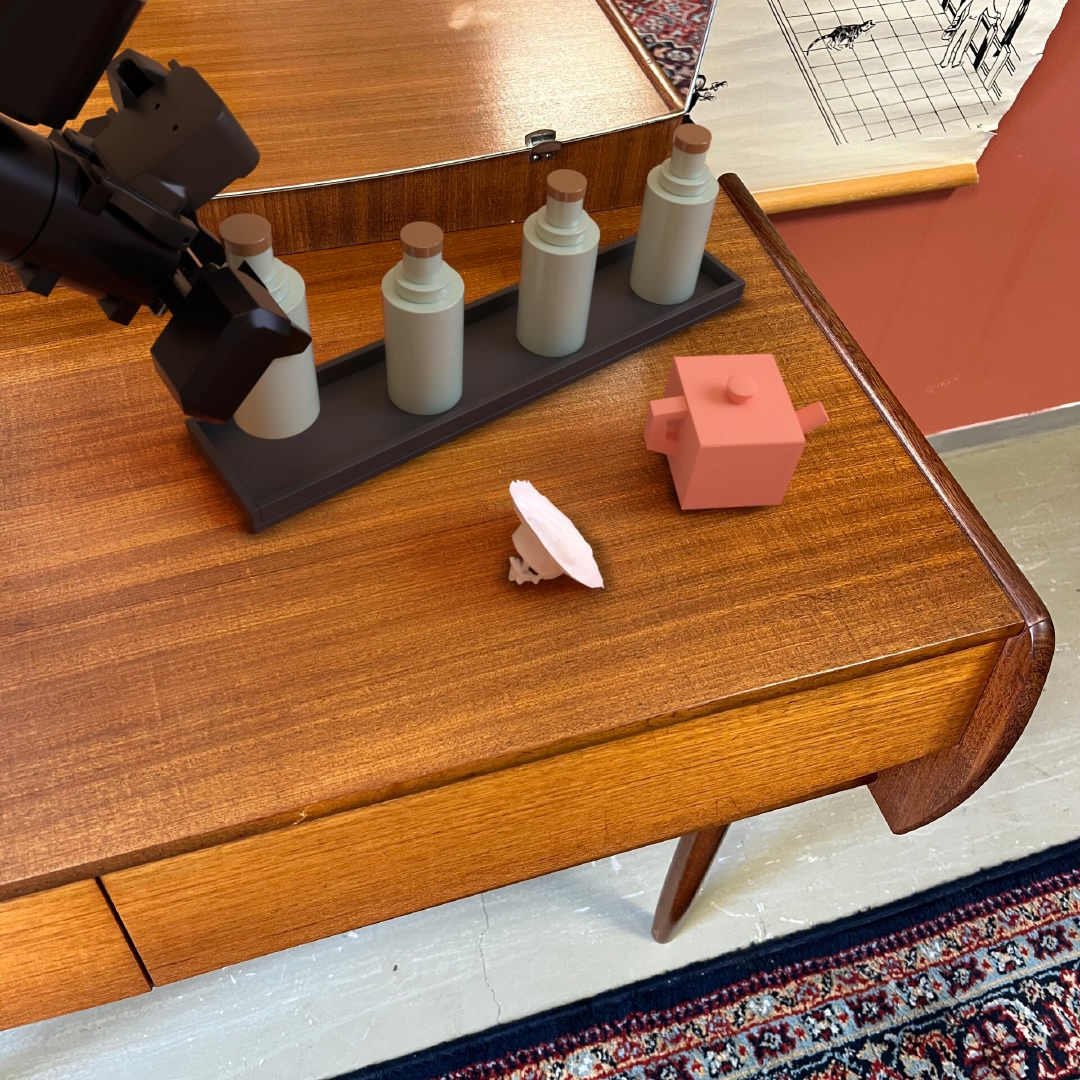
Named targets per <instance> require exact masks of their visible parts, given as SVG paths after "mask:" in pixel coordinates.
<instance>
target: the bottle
mask: <svg viewBox="0 0 1080 1080" xmlns="http://www.w3.org/2000/svg"><path fill="white" fill-rule="evenodd" d="M272 229H273V228H272V226H271V223H270V222H269V220H267V219H266V218H265V217H263V216H261V215H259V214H254V213H238V214H234V215H231V216H229V217H227V218H225V219H224V220H222V222H221V223H220V224H219V227H218V236H219V239H220V241H221V245H222V247H223V249H224V251H225V256H226V261H227V262H225V263H224V264H223V265H222V267H225V266H230V267H232V268H235V269H238V267H239V266H240V265H241V263H242V262H243V260H246V262H247V263H248V264H249V265H250V267H251V268H252V269H253V270H254V272H255V273H256V274H257V275H258V277H259V278H260V279H261V280H262V282H263V283H264V284H265V286H266V287H267V288H268V291H269V293H270V295H271V296H272V297H273V299H274V300H275V301H276V302H277V304H278V305H279V306H280V307H281V309H282V310H283V311H284V312H285V314H286V315H287V316H288V318H289V319H290V320H291V321H292V322H294V323H295V324H296V325H298V326H299V327H300V328H302V329H303V330H304V331H306V332H307V333H308V334H309V335H310V336H311V337H312V330H311V323H310V321H311V320H310V315H309V306H308V298H307V291H306V284H305V281H304V278H303V277H302V276H301V274H300V273H299V271H297V270H296V269H294V268H293V267H292V266H290V265H289V264H286V263H284V262H282V261H281V260H280V259H279V258H277V257H275V255H274V250H273V242H274V238H273V231H272ZM222 267H221V268H222ZM315 366H316V359H315V354H314V346H313V341H312V342H311V343H310V344H309V346H308V347H307V349H306V350H305V351H304V352H303V353H301V354H297V355H293V356H288V357H283V358H278V359H274V360H273V362H272V363H271V364H270V366H269V367H268V368H267V370H266V371H265V373H264V374H263V375H262V377H261V378H260V379H259V381H258V382H257V383H256V385H255V386H254V388H253V389H252V390H251V392H250V393H249V394H248V396H247V397H246V399H245V400H244V401H243V403H242V404H241V405H240V407H239V408H238V410H237V411H236V412H235V414H234V415H233V418H234V420H235V422H236V424H237V425H238V426H239V427H240V428H241V429H242V430H243V431H245V432H247V433H248V434H250V435H253V436H256V437H259V438H264V439H282V438H287V437H291V436H294V435H297V434H299V433H301V432H303V431H304V430H306V429H307V428H308V427H310V426H311V425H312V424H313V423H314V421H315V420H316V418H317V417H318V414H319V411H320V399H319V391H318V384H317V376H316V368H315Z"/></svg>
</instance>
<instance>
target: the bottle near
mask: <svg viewBox="0 0 1080 1080" xmlns="http://www.w3.org/2000/svg"><path fill="white" fill-rule="evenodd" d="M444 237H445V235H444V232H443V229H442V228H441V227H439V226H438V225H436V224H435V223H432V222H429V221H413V222H410V223H407V224H406V225H404V226H403V227H402V228H401V230H400V232H399V247H400V249H401V251H402V252H401V253H402V254H401V255H402V256H401V257H402V259H401V260H400V261H399V262H397V263H396V264H395V265H394V266H393V267H392V268H390V269H389V270H388V271H387V272H386V273H385V274H384V276H383V278H382V280H381V283H380V290H381V291H380V292H381V309H382V323H383V325H382V326H383V336H384V337H383V338H384V341H385V357H386V372H387V388H388V394H389V397H390V399H391V400H392V402H393V403H394V404H395V405H396V406H397V407H399V408H400V409H402V410H404V411H406V412H408V413H411V414H415V415H435V414H439V413H443V412H445V411H447V410H449V409H451V408H452V407H453V406H454V405H455V404H456V403H457V402H458V401H459V399H460V398H461V395H462V391H463V341H464V305H465V283H464V280H463V278H462V276H461V275H460V274H459V272H457V270H455V269H454V268H452V267H451V266H450V265H449V264H448V263H447V262H446V261H445V260H444V259H443V249H444V244H445V243H444V242H445V241H444Z"/></svg>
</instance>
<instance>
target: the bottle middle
mask: <svg viewBox="0 0 1080 1080" xmlns="http://www.w3.org/2000/svg"><path fill="white" fill-rule="evenodd" d="M587 187H588V181H587V178H586V176H585V175H583V174H582V173H580V172H578V171H577V170H573V169H567V168H565V169H564V168H562V169H556V170H553V171H551V172H549V174H548V175H547V177H546V183H545V191H546V200H545V201H546V202H545V205H542V206H541V207H540V208H539V209H538V210H537V211H535V212H533V213H531V214H530V215H529V216H528V217H527V218H526V219H525V221H524V223H523V226H522V239H521V253H520V268H519V280H518V282H519V293H518V307H517V321H516V336H517V338H518V340H519V342H520V343H521V344H522V345H523V347H525V348H526V349H527V350H529V351H531V352H533V353H535V354H538V355H541V356H546V357H561V356H566V355H569V354H572V353H574V352H575V351H577V350H578V349H579V348H580V347H581V346H582V345H583V343H584V341H585V337H586V331H587V324H588V317H589V310H590V303H591V296H592V289H593V282H594V275H595V268H596V261H597V254H598V249H599V247H600V239H601V231H600V228H599V226H598V224H597V223H596V221H594V219H592V218H591V217H590V216H589V214H588V212H587V211H586V210H585V209H584V208H583V206H584V201H585V200H584V198H585V196H586V194H587V189H588V188H587Z"/></svg>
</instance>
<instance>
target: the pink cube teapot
mask: <svg viewBox="0 0 1080 1080" xmlns="http://www.w3.org/2000/svg"><path fill="white" fill-rule="evenodd" d="M665 385H666V386H665V390H664V394H663V398H660V399H653V400H649V403H648V407H647V408H648V409H647V413H646V419H645V424H644V429H643V438H644V441H645V446H646V450H648V451H652V452H656V453H660V454H663V455H666V457H667V462H668V466H669V469H670V473H671V476H672V480H673V483H674V487H675V491H676V494H677V498H678V502H679V505H680V508H681V510H682V511H684V510H704V509H719V508H722V509H723V508H737V507H738V508H739V507H755V506H756V507H758V506H759V507H760V506H774V505H775V506H777V505H782V503H783V500H784V497H785V495H786V493H787V490H788V488H789V486H790V483H791V481H792V479H793V476H794V473H795V471H796V469H797V467H798V464H799V461H800V459H801V457H802V454H803V452H804V449H805V447H806V444H807V440H806V437H805V434H807V433H809V432H811V431H812V430H815V429H817V428H819V427H821V426H824V425H825V424H827V423H829V422H830V418H829V416H828V414H827V412H826V410H825V407H824V406H823V404H822V403H821V401H820V400H817V401H815V402H813V403H811V404H808V405H806V406H804V407H802V408H800V409H797V410H796V411H795V408H794V405H793V403H792V401H791V398H790V395H789V392H788V390H787V387H786V385H785V382H784V379H783V377H782V374H781V371H780V370H779V367H778V364H777V363H776V360H775V357H774V354H773V353H756V354H751V353H749V354H719V355H718V354H717V355H715V354H714V355H693V356H673V357H672V360H671V364H670V369H669V373H668V377H667V382H666V384H665Z"/></svg>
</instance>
